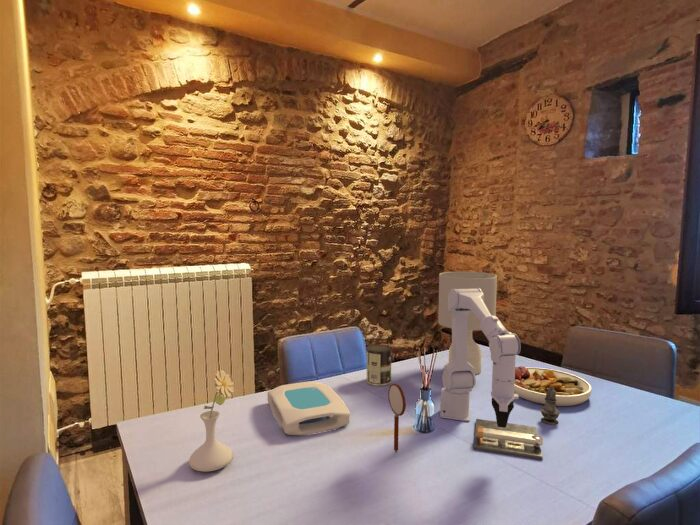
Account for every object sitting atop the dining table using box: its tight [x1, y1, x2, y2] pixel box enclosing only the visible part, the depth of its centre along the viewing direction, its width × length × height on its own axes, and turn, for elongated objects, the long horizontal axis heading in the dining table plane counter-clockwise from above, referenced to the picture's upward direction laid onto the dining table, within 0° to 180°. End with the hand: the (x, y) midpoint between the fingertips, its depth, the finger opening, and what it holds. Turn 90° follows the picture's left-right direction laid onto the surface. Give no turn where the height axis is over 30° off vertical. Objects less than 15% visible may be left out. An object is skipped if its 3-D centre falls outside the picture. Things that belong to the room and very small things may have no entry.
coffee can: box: [365, 344, 392, 387], centre depth 175 cm, size 10×10×14 cm
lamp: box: [437, 271, 498, 376], centre depth 188 cm, size 24×24×42 cm
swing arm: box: [477, 426, 544, 446], centre depth 125 cm, size 18×4×2 cm, turn 72°
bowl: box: [514, 365, 592, 407], centre depth 165 cm, size 30×30×8 cm
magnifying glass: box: [387, 383, 407, 454], centre depth 120 cm, size 9×2×20 cm, turn 23°
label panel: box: [473, 418, 544, 461], centre depth 129 cm, size 18×18×2 cm
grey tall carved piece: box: [539, 386, 561, 426], centre depth 140 cm, size 6×6×12 cm
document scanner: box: [267, 380, 351, 437], centre depth 145 cm, size 21×28×6 cm
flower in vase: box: [188, 369, 234, 473], centre depth 115 cm, size 13×11×25 cm
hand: (501, 426), depth 117 cm, fingers closed
